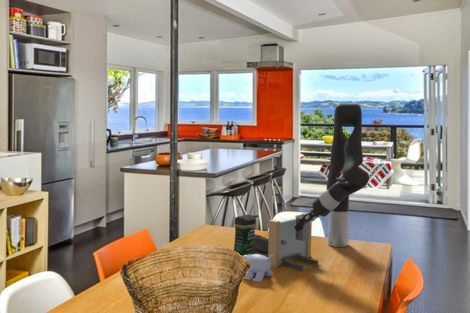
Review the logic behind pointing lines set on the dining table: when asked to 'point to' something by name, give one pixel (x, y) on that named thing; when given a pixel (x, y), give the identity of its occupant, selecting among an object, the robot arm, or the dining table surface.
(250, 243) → the coffee jar
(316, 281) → the dining table surface
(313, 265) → the keeper
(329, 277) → the dining table surface
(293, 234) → the door
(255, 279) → the hippopotamus toy
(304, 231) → the bar
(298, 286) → the dining table surface
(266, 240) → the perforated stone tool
